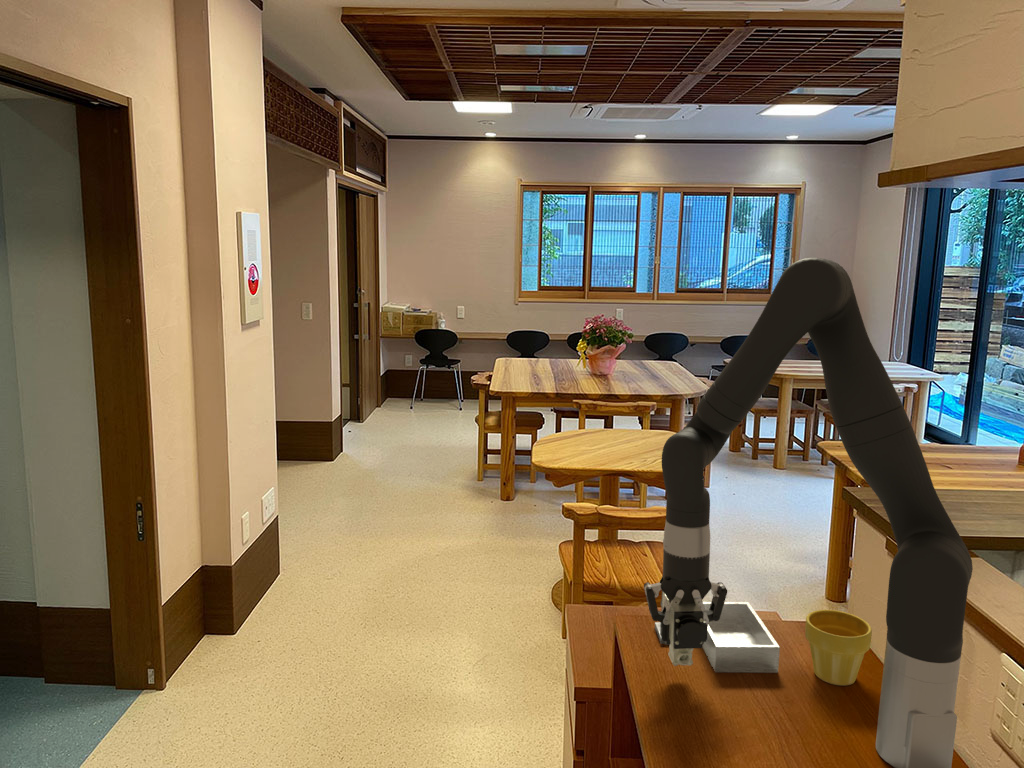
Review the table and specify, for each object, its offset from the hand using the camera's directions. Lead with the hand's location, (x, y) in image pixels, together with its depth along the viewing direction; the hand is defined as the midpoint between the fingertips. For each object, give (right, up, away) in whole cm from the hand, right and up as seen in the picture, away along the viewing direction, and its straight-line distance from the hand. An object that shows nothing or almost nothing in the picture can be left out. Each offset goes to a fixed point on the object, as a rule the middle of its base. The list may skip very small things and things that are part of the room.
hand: (683, 641), depth 124 cm
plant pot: (+27, -7, +2) cm, 28 cm away
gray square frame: (+2, -4, +15) cm, 16 cm away
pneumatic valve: (0, -4, +1) cm, 4 cm away
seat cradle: (+12, -5, +11) cm, 17 cm away
